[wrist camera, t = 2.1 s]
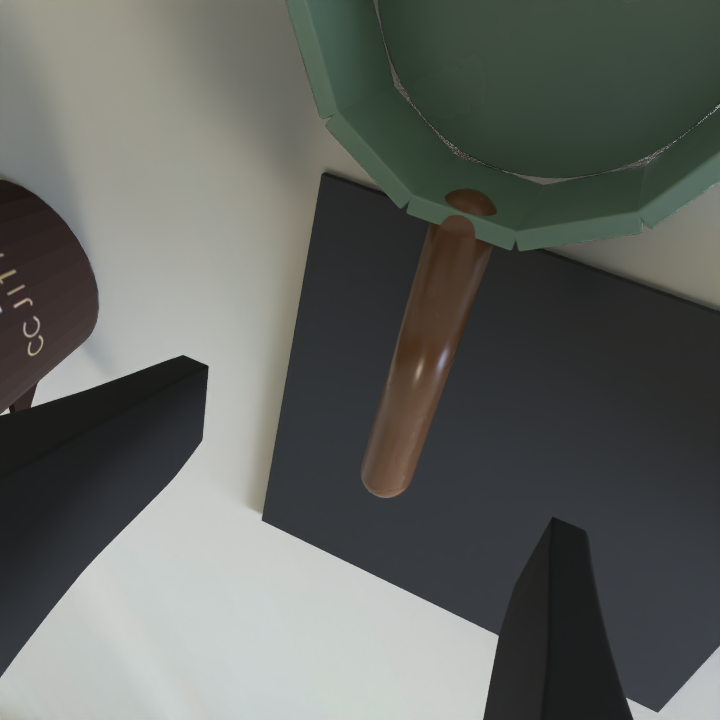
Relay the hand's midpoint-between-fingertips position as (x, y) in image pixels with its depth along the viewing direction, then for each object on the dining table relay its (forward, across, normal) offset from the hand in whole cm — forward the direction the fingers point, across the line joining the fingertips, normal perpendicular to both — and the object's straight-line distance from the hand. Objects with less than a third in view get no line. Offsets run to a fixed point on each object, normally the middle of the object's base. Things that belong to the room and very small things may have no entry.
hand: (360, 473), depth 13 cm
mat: (+6, -3, +4) cm, 8 cm away
